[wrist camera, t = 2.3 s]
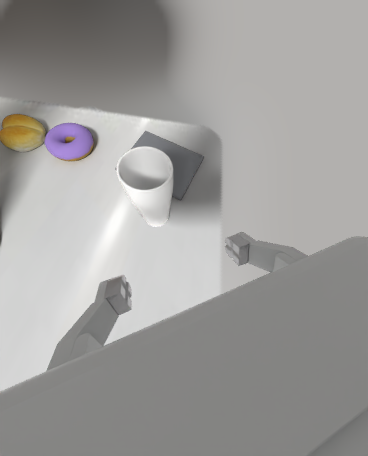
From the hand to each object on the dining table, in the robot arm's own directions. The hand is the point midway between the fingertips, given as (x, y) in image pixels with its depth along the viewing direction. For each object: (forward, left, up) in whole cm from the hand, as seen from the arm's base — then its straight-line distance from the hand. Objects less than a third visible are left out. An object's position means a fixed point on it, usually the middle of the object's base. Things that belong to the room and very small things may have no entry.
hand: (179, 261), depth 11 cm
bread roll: (-45, +12, -18) cm, 50 cm away
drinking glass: (-8, +8, -18) cm, 21 cm away
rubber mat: (-14, +21, -18) cm, 31 cm away
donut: (-34, +15, -18) cm, 42 cm away
